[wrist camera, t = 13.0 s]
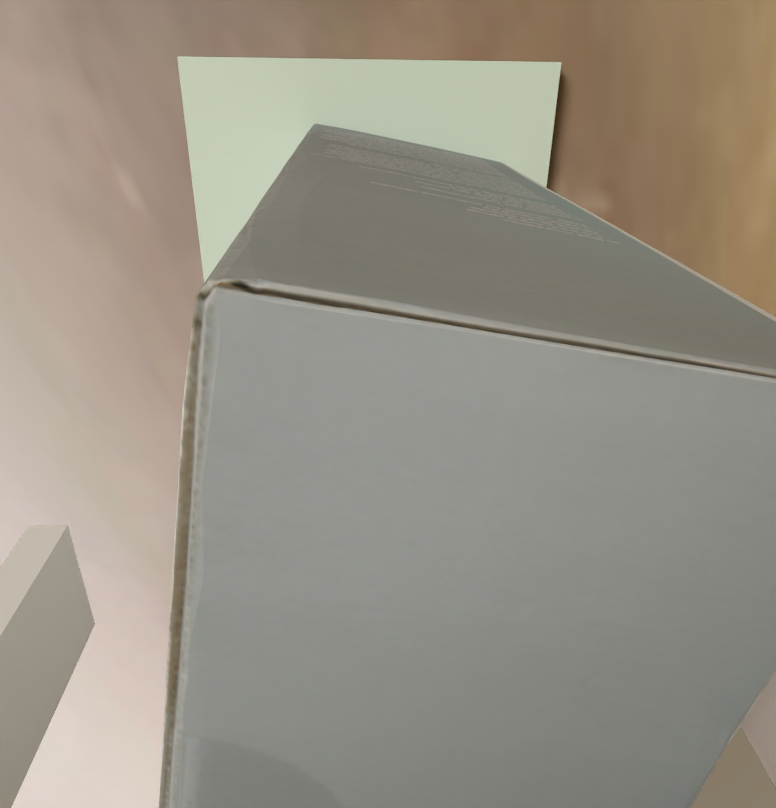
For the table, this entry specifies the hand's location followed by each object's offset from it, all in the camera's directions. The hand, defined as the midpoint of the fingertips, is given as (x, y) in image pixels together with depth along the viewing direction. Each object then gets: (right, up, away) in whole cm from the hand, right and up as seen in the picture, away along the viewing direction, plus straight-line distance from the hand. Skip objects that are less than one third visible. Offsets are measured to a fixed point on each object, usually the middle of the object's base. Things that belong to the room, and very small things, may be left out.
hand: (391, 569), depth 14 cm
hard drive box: (-1, +6, +13) cm, 15 cm away
